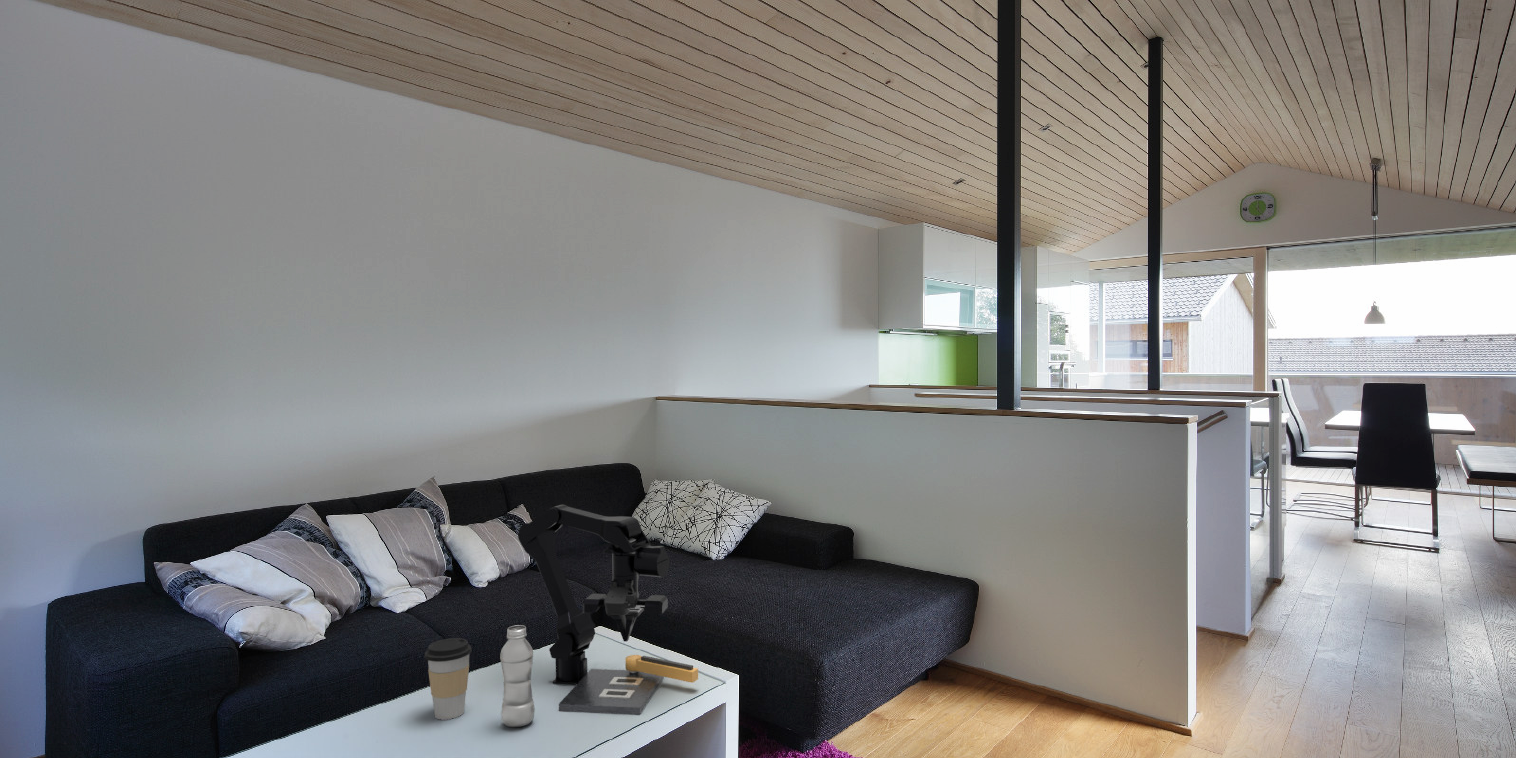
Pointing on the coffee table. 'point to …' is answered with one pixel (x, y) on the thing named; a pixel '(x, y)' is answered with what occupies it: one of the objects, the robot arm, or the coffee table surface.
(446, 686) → the coffee cup
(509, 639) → the plastic bottle
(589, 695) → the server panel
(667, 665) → the bar
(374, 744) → the coffee table surface
